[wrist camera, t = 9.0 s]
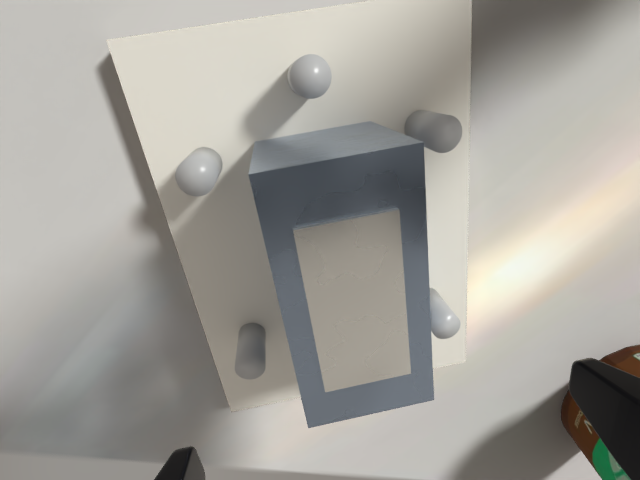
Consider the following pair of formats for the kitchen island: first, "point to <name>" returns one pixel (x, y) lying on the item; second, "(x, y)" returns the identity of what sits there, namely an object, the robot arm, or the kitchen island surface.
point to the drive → (349, 265)
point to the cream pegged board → (289, 119)
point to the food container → (627, 359)
